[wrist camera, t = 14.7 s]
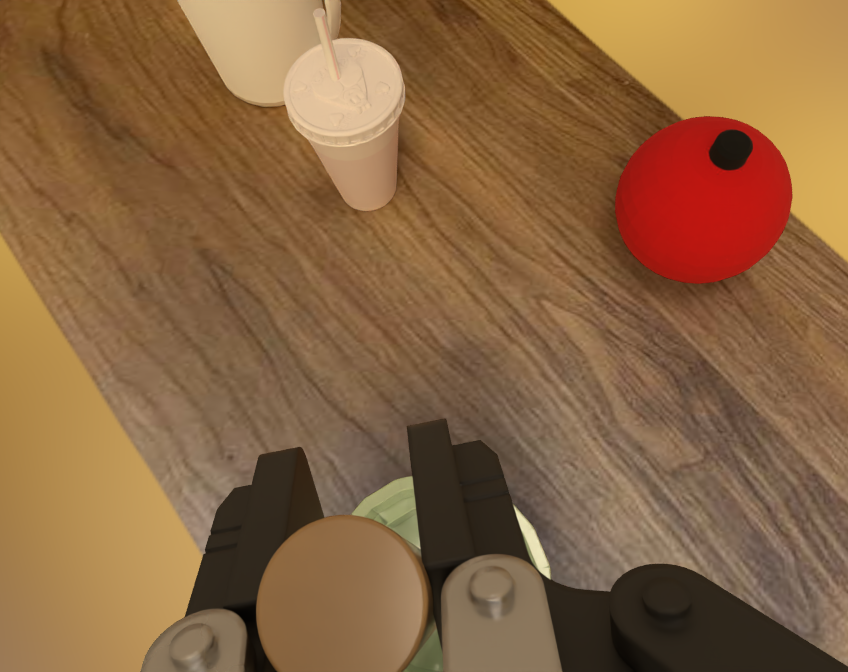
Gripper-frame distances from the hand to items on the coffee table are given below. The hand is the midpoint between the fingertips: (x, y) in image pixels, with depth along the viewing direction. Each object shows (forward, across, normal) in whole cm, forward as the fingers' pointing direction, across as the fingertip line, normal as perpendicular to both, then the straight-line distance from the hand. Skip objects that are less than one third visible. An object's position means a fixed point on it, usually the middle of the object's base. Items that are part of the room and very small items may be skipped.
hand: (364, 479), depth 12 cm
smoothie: (+35, 0, +2) cm, 35 cm away
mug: (+42, +4, -6) cm, 43 cm away
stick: (+6, 0, +9) cm, 11 cm away
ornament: (+29, -18, +8) cm, 35 cm away
